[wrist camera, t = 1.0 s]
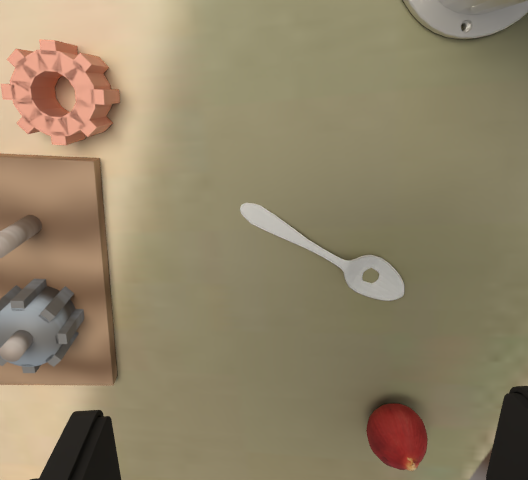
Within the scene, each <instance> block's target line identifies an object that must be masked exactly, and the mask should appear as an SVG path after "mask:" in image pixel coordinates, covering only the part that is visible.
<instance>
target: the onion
mask: <svg viewBox="0 0 528 480" xmlns="http://www.w3.org/2000/svg"><path fill="white" fill-rule="evenodd" d="M366 431H367V437H368V441H369V444H370V447H371V449H372V451H373V452H374V453H375V454H376V455H377V457H378V458H379V459H380V460H381V461H382V462H384V463H385V464H386V465H388V466H391V467H394V468H397V469H400V470H405V469H407V470H410V471H414V470H416V468H417V467H418V465H419V463H420V462H421V461H422V459H423V457H424V455H425V453H426V449H427V433H426V429H425V426H424V424H423V421H422V419H421V418H420V417H419V416H418V415H417V414H416V413H415V412H414V411H413V410H412V409H411V408H409V407H407V406H405V405H402V404H397V403H393V404H384V405H382V406H381V407H379V408H377V409H376V410H375V411H374V412H373V413H372V414H371V416H370V417H369V420H368V424H367V430H366Z"/></svg>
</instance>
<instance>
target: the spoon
mask: <svg viewBox="0 0 528 480" xmlns="http://www.w3.org/2000/svg"><path fill="white" fill-rule="evenodd" d="M240 211H241V213H242V215H243V216H244V217H245V218H246V219H247V220H248V221H249V222H250V223H251V224H253V225H255V226H257V227H259V228H261V229H263V230H265V231H267V232H270V233H272V234H274V235H276V236H279V237H281V238H283V239H285V240H288V241H290V242H292V243H295V244H297V245H299V246H302V247H304V248H306V249H308V250H310V251H312V252H314V253H316V254H318V255H320V256H322V257H324V258H325V259H327V260H328V261H330V262H332V263H333V264H335V265H336V266H338V267H339V268H341V269H342V270H343V272H344V277H345V281H346V283H347V284H348V286H349V287H350V288H351V289H353V290H354V291H355V292H357V293H359V294H362V295H364V296H367V297H370V298H374V299H378V300H387V301H391V300H396V299H398V298H401V297H402V296H403V295H404V282H403V280H402V278H401V276H400V275H399V273H398V272H397V271H396V269H395V268H393V267H392V266H391V265H390V264H389V263H388V262H387V261H385V260H384V259H382V258H381V257H377V256H374V255H365V256H361V257H358V258H356V259H353V260H344V259H342V258H340V257H337V256H335V255H334V254H332V253H330V252H328V251H326V250H325V249H323V248H321V247H320V246H318V245H316V244H315V243H313V242H311V241H310V240H308V239H307V238H305V237H304V236H303V235H302V234H300V233H299V232H298V231H296V230H295V229H294V228H292V227H291V226H290V225H288V224H287V223H285V222H284V221H283V220H281V219H280V218H278V217H277V216H276V215H274V214H273V213H271V212H270V211H268V210H266V209H265V208H263V207H262V206H260V205H257V204H253V203H244V204H242V205H241V208H240ZM369 268H373V269H375V270H376V271H377V272H379V278H378V280H377V281H375V282H374V283H369V282H366V281H363V279H362V276H363V273H364V271H366V270H367V269H369Z"/></svg>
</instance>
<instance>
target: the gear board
mask: <svg viewBox="0 0 528 480" xmlns="http://www.w3.org/2000/svg"><path fill="white" fill-rule="evenodd" d="M116 378H117V364H116V352H115V340H114V328H113V315H112V303H111V291H110V279H109V267H108V255H107V242H106V230H105V218H104V206H103V194H102V182H101V169H100V158H81V157H60V156H38V155H16V154H0V385H114V382H115V380H116Z"/></svg>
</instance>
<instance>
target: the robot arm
mask: <svg viewBox="0 0 528 480" xmlns="http://www.w3.org/2000/svg"><path fill="white" fill-rule="evenodd" d="M403 1H404V3H405V5H406V6H407V8H408V9H409V11H410V13H411V14H412V15H413V16H414V17H415V18H416V19H417V20H418V21H419V22H420V23H421V24H422V25H423V26H425V27H426V28H428V29H429V30H431V31H433V32H434V33H437V34H440V35H442V36H445V37H448V38H456V39H471V38H479V37H483V36H487V35H491V34H494V33H496V32H499V31H501V30H503V29H506V28H507V27H509V26H511V25H512V24H514V23H515V22H517V21H518V20H520V19H521V18H522V17H523V16H525V15H526V14H527V13H528V0H403ZM461 25H463V30H461ZM486 476H487V477H486V480H528V386H518V387H513V388H512V389H511V390H510V392H509V394H506V395H505V397H504V400H503V405H502V409H501V413H500V418H499V422H498V427H497V431H496V435H495V440H494V444H493V449H492V453H491V458H490V462H489V466H488V471H487V475H486ZM31 480H121V476H120V470H119V464H118V457H117V451H116V445H115V439H114V433H113V427H112V421H111V418H110V417H109V416H106V417H104V416H103V412H102V411H101V410H91V411H75V412H74V413H73V414H72V415H71V417H70V419H69V421H68V423H67V425H66V426H65V428H64V430H63V432H62V434H61V436H60V438H59V440H58V442H57V444H56V446H55V448H54V450H53V452H52V454H51V456H50V458H49V460H48V462H47V464H46V466H45V468H44V470H43V472H42V474H41V476H40V478H39V479H31Z"/></svg>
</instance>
